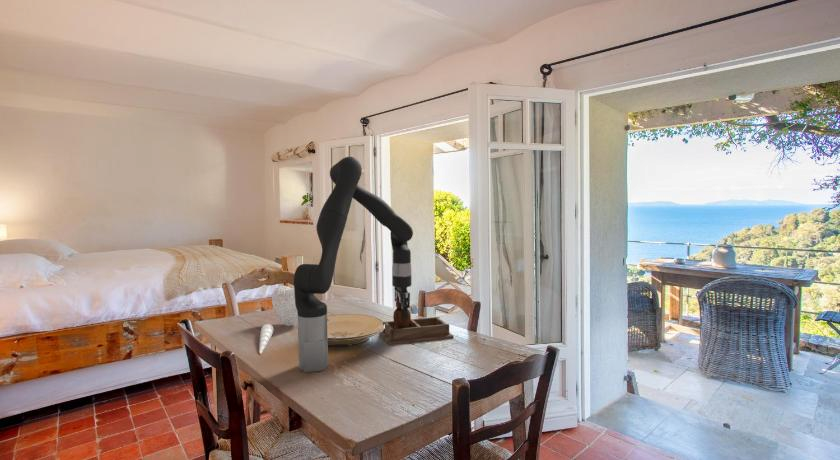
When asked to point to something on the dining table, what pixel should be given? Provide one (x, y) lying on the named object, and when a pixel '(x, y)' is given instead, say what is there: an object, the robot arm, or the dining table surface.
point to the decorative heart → (285, 305)
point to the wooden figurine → (398, 318)
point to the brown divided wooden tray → (416, 331)
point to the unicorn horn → (265, 336)
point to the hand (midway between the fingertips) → (402, 315)
